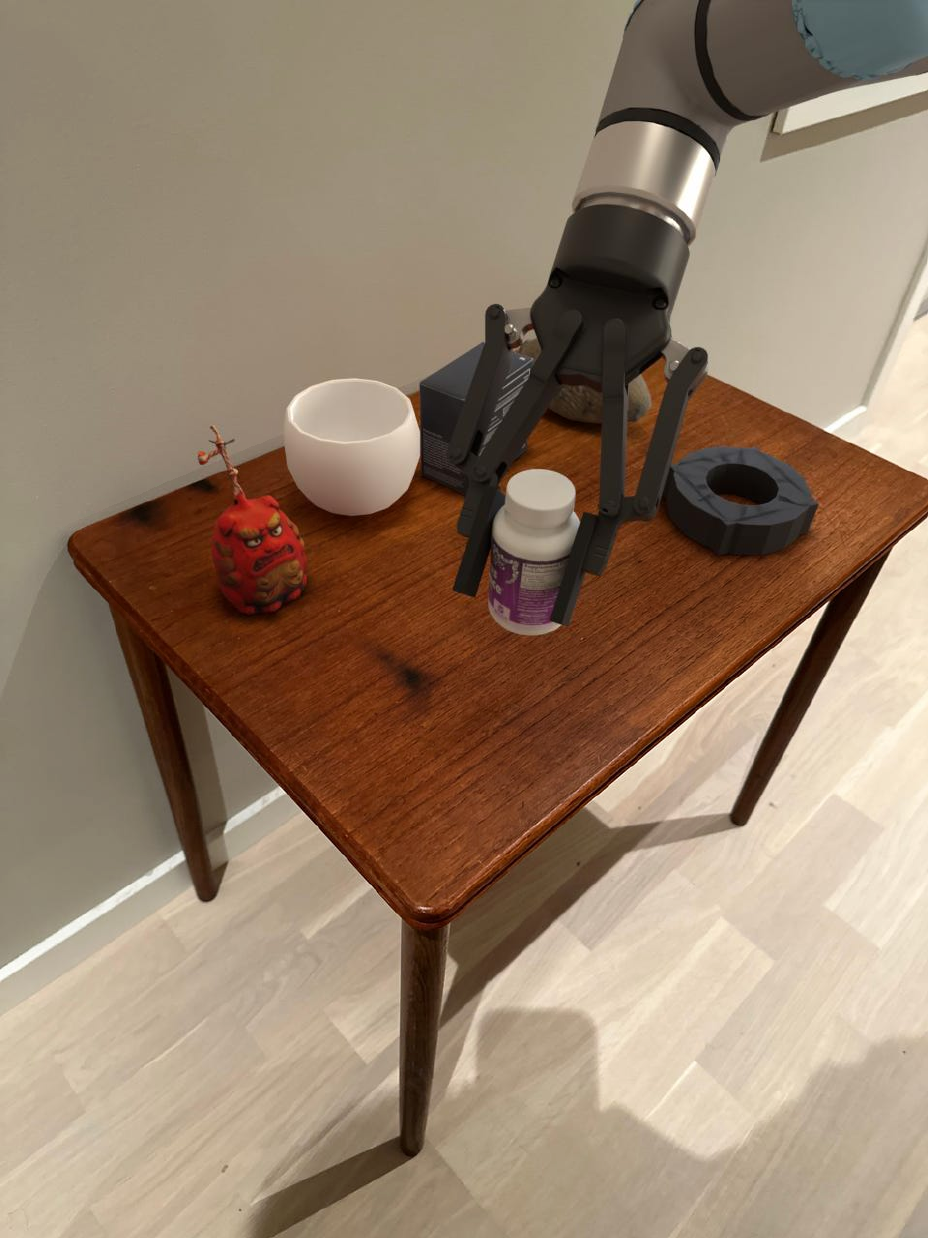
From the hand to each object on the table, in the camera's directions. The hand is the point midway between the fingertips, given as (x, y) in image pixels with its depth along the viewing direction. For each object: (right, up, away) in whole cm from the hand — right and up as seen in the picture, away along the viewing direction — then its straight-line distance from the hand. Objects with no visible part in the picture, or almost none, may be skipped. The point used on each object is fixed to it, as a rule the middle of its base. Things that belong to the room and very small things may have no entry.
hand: (511, 608), depth 51 cm
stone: (+10, +23, +45) cm, 51 cm away
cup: (-13, +11, +32) cm, 36 cm away
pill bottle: (+1, 0, +5) cm, 5 cm away
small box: (-2, +15, +37) cm, 40 cm away
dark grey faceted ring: (+23, +9, +32) cm, 41 cm away
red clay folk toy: (-20, +2, +22) cm, 30 cm away
